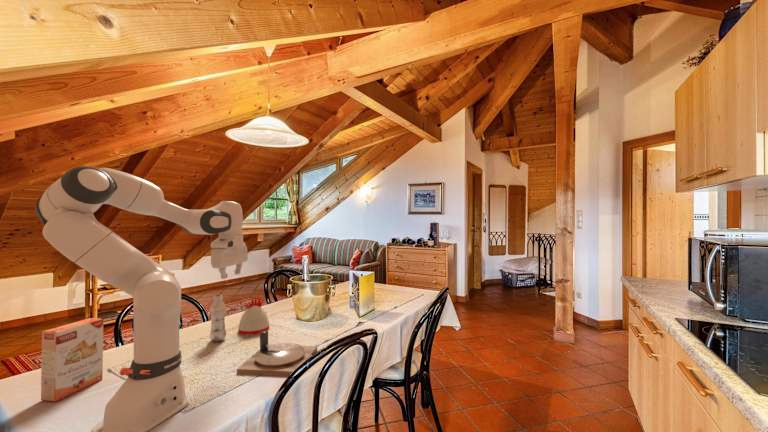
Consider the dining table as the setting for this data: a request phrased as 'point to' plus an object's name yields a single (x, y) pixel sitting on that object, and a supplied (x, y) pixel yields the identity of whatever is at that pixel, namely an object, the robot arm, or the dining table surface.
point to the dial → (277, 353)
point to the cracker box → (71, 358)
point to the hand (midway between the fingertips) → (231, 276)
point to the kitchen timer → (254, 319)
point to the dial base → (286, 370)
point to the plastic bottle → (217, 319)
